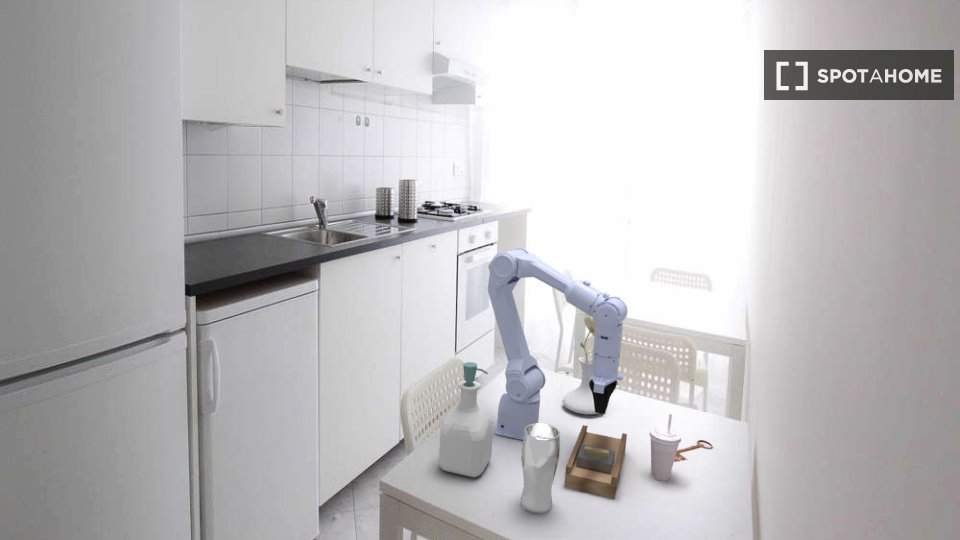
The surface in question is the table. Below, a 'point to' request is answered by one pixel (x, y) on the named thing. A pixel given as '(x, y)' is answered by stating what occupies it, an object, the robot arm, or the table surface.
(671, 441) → the smoothie
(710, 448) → the key
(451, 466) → the soap bottle
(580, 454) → the lever cap
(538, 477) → the beer glass
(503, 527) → the table surface
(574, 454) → the wooden tray
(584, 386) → the flower in vase
